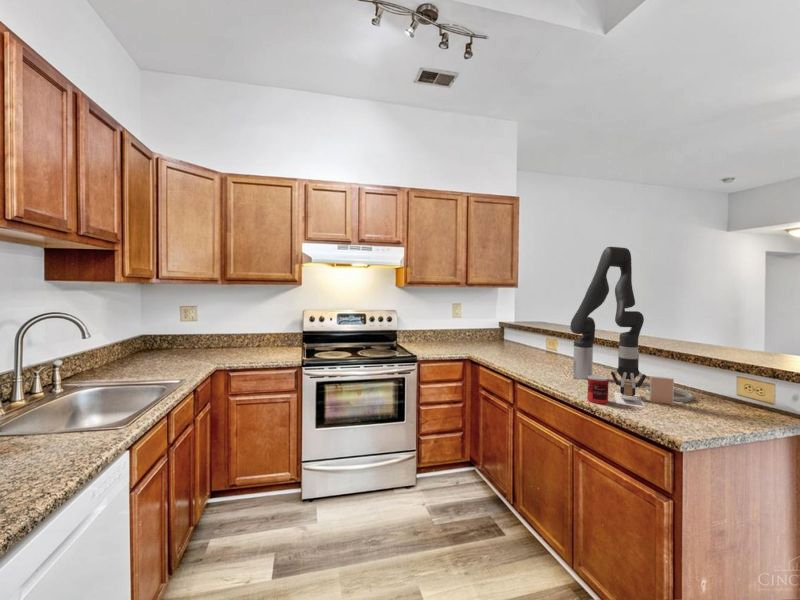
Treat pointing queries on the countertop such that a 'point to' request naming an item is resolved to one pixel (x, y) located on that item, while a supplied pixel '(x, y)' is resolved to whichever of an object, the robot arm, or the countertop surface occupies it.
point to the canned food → (598, 389)
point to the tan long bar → (628, 393)
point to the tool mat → (629, 402)
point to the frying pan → (676, 394)
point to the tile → (661, 389)
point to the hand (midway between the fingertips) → (627, 395)
